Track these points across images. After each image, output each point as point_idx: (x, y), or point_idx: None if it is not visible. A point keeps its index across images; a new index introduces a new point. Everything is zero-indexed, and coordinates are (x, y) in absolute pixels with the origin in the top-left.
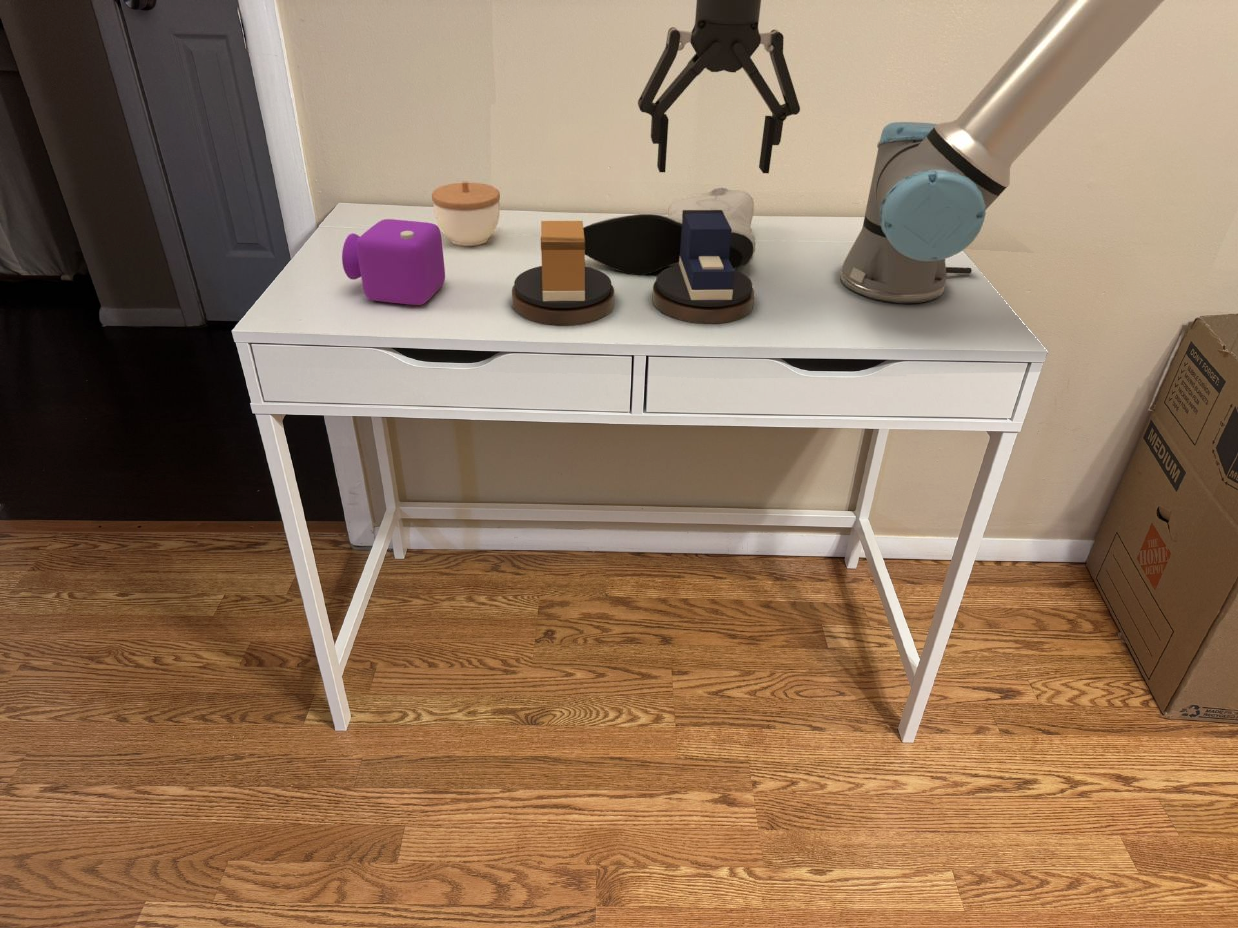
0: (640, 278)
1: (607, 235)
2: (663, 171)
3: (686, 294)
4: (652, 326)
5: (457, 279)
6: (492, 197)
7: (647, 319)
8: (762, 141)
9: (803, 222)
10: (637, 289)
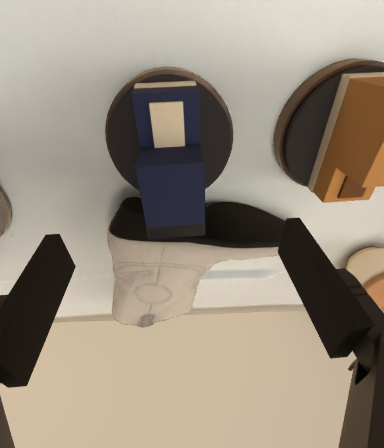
0: (232, 194)
1: (276, 231)
2: (291, 219)
3: (199, 102)
4: (243, 58)
5: None
6: (375, 285)
7: (245, 82)
8: (54, 314)
9: (69, 308)
10: (240, 168)
